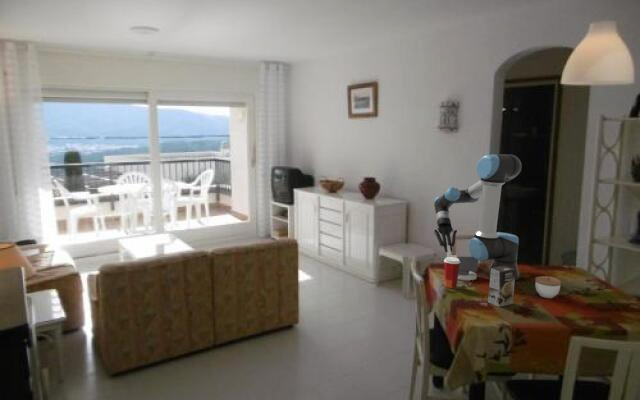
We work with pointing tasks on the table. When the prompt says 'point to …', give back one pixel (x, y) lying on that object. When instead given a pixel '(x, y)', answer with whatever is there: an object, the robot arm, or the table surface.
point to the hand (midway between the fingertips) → (449, 256)
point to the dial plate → (467, 276)
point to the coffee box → (501, 286)
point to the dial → (466, 264)
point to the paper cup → (451, 271)
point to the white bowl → (547, 286)
